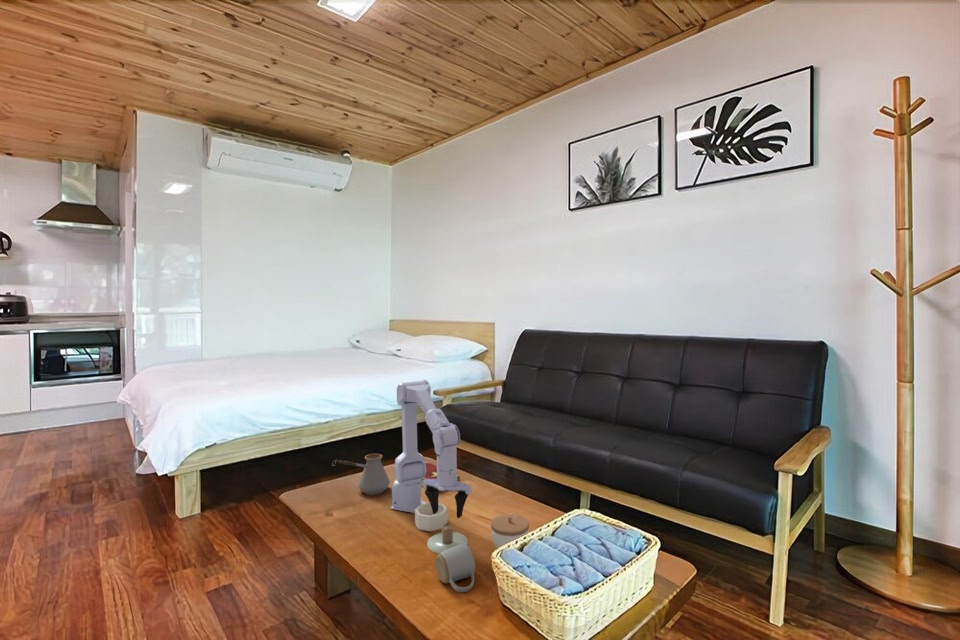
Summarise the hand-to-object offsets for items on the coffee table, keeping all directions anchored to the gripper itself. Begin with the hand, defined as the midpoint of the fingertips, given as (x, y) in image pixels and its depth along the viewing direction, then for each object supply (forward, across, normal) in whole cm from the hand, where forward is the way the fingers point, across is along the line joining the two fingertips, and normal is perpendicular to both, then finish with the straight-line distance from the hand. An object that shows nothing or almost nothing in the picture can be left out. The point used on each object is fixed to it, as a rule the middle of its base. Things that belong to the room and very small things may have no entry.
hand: (447, 514), depth 134 cm
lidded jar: (+9, +18, +3) cm, 20 cm away
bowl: (+8, -10, +9) cm, 16 cm away
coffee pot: (+9, -44, +20) cm, 49 cm away
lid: (+9, 0, 0) cm, 9 cm away
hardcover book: (+9, -26, +40) cm, 48 cm away
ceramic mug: (+9, +10, -15) cm, 20 cm away
